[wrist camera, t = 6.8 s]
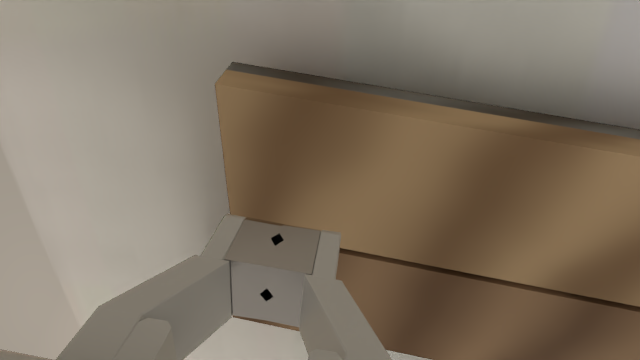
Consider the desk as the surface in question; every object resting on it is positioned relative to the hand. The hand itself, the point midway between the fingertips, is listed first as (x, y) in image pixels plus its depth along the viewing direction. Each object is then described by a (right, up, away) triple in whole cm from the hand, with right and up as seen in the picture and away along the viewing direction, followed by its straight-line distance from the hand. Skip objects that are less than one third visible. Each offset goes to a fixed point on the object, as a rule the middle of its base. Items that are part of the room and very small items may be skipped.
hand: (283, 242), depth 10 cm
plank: (+7, +1, +5) cm, 9 cm away
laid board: (+7, -4, +9) cm, 12 cm away
